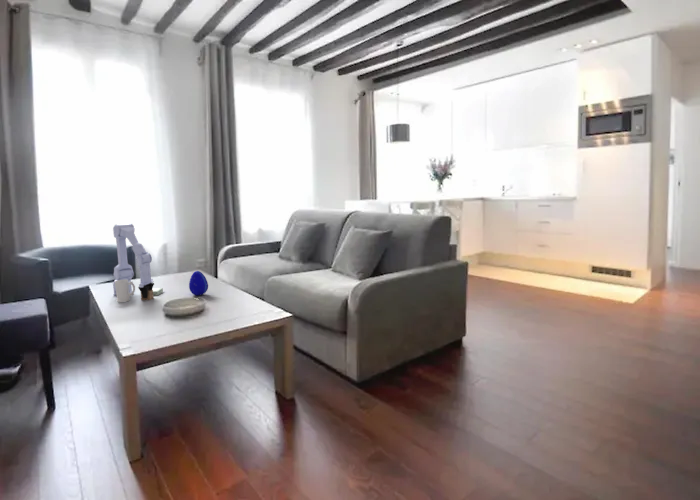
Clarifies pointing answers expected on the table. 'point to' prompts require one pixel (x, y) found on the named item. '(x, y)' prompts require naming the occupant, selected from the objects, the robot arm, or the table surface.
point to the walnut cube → (150, 295)
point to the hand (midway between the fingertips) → (147, 296)
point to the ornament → (198, 283)
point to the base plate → (157, 291)
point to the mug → (123, 290)
